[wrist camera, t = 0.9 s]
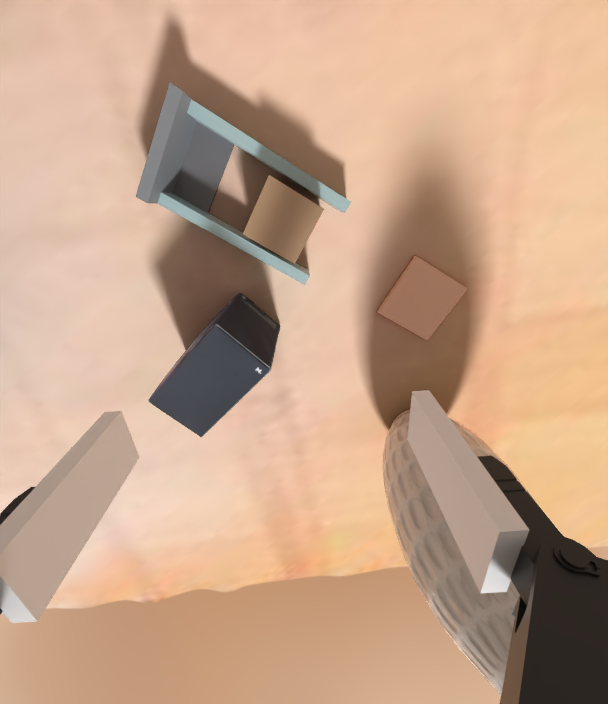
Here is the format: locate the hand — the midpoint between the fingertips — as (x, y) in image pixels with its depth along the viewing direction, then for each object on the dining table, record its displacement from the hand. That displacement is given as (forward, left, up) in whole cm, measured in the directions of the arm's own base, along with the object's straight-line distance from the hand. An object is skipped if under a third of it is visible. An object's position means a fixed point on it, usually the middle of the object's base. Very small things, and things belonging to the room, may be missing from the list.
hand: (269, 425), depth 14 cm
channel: (-7, +7, -22) cm, 24 cm away
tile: (+13, +7, -22) cm, 27 cm away
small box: (-3, -8, -23) cm, 24 cm away
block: (-4, +7, -22) cm, 24 cm away
